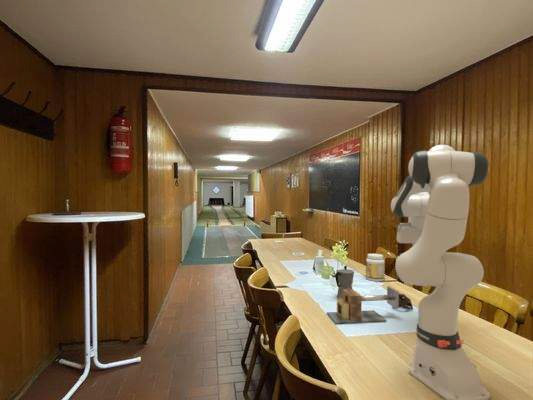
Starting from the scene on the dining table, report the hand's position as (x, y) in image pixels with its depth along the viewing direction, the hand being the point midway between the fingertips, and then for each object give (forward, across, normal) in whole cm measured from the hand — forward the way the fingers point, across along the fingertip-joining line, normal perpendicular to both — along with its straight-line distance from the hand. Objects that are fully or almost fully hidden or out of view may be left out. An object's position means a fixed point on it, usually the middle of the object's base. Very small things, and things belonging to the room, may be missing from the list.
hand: (418, 252), depth 141 cm
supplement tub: (+31, +13, +67) cm, 75 cm away
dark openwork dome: (+32, +1, +15) cm, 35 cm away
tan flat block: (+27, -34, +5) cm, 44 cm away
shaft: (+26, -19, +5) cm, 33 cm away
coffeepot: (+31, -23, +32) cm, 50 cm away
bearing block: (+31, -28, +5) cm, 42 cm away
